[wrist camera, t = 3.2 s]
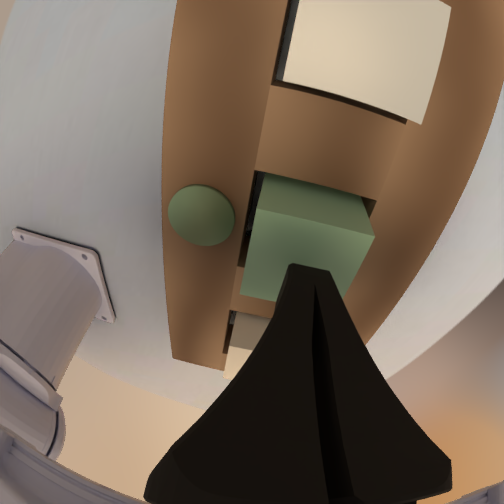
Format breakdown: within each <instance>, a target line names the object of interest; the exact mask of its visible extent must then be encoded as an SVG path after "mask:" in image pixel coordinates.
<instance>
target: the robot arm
mask: <svg viewBox="0 0 504 504" xmlns="http://www.w3.org/2000/svg"><path fill="white" fill-rule="evenodd" d="M12 235H13V238H14V241H13V242H12V243H11V244H10V245H9V246H8V247H7V248H6V249H5V250H4V252H3V253H2V254H1V255H0V504H416V501H417V500H421V499H425V498H429V497H433V496H436V495H439V494H442V493H446V492H449V491H450V490H451V489H452V467H451V460H450V459H449V458H448V457H447V456H446V455H445V453H444V452H443V451H442V450H441V449H439V447H438V446H437V445H436V444H435V443H434V442H433V441H432V440H431V439H430V438H429V437H428V436H427V435H426V434H425V432H424V431H423V430H422V429H421V428H420V426H419V425H418V424H417V423H416V422H415V421H414V419H413V418H412V417H411V415H410V414H409V413H408V412H407V410H406V409H405V407H404V406H403V405H402V403H401V402H400V401H399V399H398V398H397V397H396V395H395V394H394V392H393V391H392V389H391V388H390V387H389V385H388V384H387V382H386V380H385V379H384V377H383V376H382V374H381V372H380V371H379V369H378V368H377V366H376V364H375V363H374V361H373V359H372V357H371V355H370V354H369V352H368V350H367V348H366V346H365V344H364V343H363V341H362V339H361V337H360V335H359V333H358V331H357V329H356V327H355V325H354V323H353V321H352V319H351V316H350V314H349V312H348V310H347V308H346V306H345V304H344V301H343V299H342V297H341V295H340V293H339V290H338V288H337V286H336V284H335V281H334V279H333V277H332V275H331V273H330V271H328V270H324V269H319V268H314V267H310V266H305V265H300V264H296V263H291V264H289V265H288V268H287V271H286V274H285V277H284V280H283V283H282V286H281V289H280V291H279V294H278V297H277V300H276V304H275V309H274V314H273V316H272V318H271V320H270V322H269V324H268V326H267V328H266V330H265V331H264V333H263V335H262V337H261V338H260V340H259V342H258V343H257V345H256V347H255V348H254V350H253V351H252V353H251V354H250V356H249V357H248V359H247V360H246V362H245V363H244V365H243V366H242V367H241V369H240V370H239V371H238V373H237V374H236V376H235V377H234V378H233V380H232V381H231V382H230V383H229V385H228V386H227V387H226V388H225V390H224V391H223V392H222V393H221V394H220V396H219V397H218V398H217V399H216V400H215V401H214V403H213V404H212V405H211V406H210V407H209V408H208V409H207V411H206V412H205V413H204V414H203V415H202V416H201V417H200V418H199V419H198V421H196V423H194V424H193V425H192V426H191V427H190V428H189V429H188V430H187V431H186V432H185V433H184V434H183V435H182V436H181V437H180V438H179V439H178V440H177V441H176V442H175V443H174V444H173V445H172V446H171V447H170V449H169V450H168V452H167V453H166V454H165V455H164V457H163V458H162V459H161V460H160V462H159V463H158V464H157V465H156V467H155V468H154V469H153V471H152V472H151V474H150V475H149V478H148V481H147V484H146V488H145V492H144V496H143V497H144V499H145V500H146V501H147V502H144V501H142V500H138V499H136V498H133V497H130V496H128V495H125V494H122V493H120V492H117V491H115V490H112V489H110V488H108V487H105V486H103V485H101V484H98V483H96V482H94V481H92V480H90V479H88V478H86V477H84V476H82V475H80V474H78V473H76V472H74V471H72V470H70V469H68V468H66V467H64V466H63V465H61V464H59V463H57V462H56V460H57V458H58V457H59V455H60V453H61V451H62V448H63V445H64V441H65V434H66V428H65V418H64V413H63V411H62V409H61V407H60V404H61V402H62V400H63V397H61V396H60V395H59V394H58V393H56V391H57V389H58V386H59V384H60V382H61V380H62V378H63V376H64V374H65V372H66V370H67V368H68V366H69V363H70V361H71V360H72V358H73V356H74V354H75V352H76V350H77V348H78V346H79V344H80V342H81V341H82V339H83V337H84V335H85V333H86V331H87V329H88V328H89V326H90V324H91V322H92V321H93V319H94V318H97V319H100V320H103V321H106V322H108V323H114V322H115V316H114V312H113V309H112V306H111V303H110V299H109V296H108V292H107V289H106V285H105V282H104V278H103V274H102V270H101V266H100V262H99V258H98V255H97V253H96V252H95V251H93V250H90V249H87V248H83V247H79V246H76V245H72V244H69V243H65V242H62V241H58V240H55V239H51V238H48V237H44V236H41V235H37V234H34V233H31V232H27V231H24V230H21V229H18V228H14V229H13V230H12ZM148 502H149V503H148ZM446 504H504V480H503V481H502V482H499V483H497V484H494V485H492V486H488V487H485V488H482V489H479V490H476V491H474V492H471V493H469V494H466V495H464V496H462V497H461V498H460V499H457V500H455V501H452V502H449V503H446Z"/></svg>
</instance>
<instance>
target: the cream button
mask: <svg viewBox="0 0 504 504" xmlns="http://www.w3.org/2000/svg"><path fill="white" fill-rule="evenodd" d="M270 320H271V318H267V317H262V316H257V315H253V314H248V313H243V312H238V311H237V313H236V318H235V322H234V327H233V331H232V336H231V340H230V344H229V349H228V354H227V359H226V365H225V370H224V375H223V378H226V379H230V380H233V378H234V377H235V376H236V374H237V373H238V371H239V370H240V369H241V367H242V366H243V365H244V363H245V362H246V360H247V359H248V357H249V356H250V354H251V353H252V351H253V350H254V348H255V347H256V345H257V343H258V342H259V340H260V338H261V337H262V335H263V333H264V331H265V330H266V328H267V326H268V324H269V322H270Z"/></svg>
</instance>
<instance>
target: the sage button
mask: <svg viewBox="0 0 504 504" xmlns="http://www.w3.org/2000/svg"><path fill="white" fill-rule="evenodd" d="M374 238H375V235H374V232H373V229H372V226H371V223H370V220H369V218H368V215H367V212H366V209H365V207H364V204H363V201H362V199H361V196H360V195H356V194H353V193H349V192H345V191H342V190H338V189H334V188H330V187H327V186H323V185H319V184H315V183H311V182H307V181H303V180H298V179H294V178H290V177H285V176H281V175H276V174H272V173H267V172H266V173H265V177H264V181H263V185H262V189H261V193H260V197H259V201H258V205H257V209H256V214H255V219H254V224H253V229H252V234H251V238H250V243H249V248H248V253H247V258H246V263H245V268H244V273H243V278H242V284H241V289H240V294H241V295H245V296H250V297H255V298H260V299H264V300H269V301H274V302H276V300H277V297H278V294H279V291H280V289H281V286H282V283H283V280H284V277H285V274H286V271H287V268H288V265H289V264H291V263H296V264H300V265H305V266H310V267H314V268H319V269H324V270H328V271H330V273H331V275H332V277H333V279H334V281H335V284H336V286H337V288H338V290H339V293H340V295H341V297H342V299H343V297H344V296H345V294H346V292H347V290H348V288H349V287H350V285H351V283H352V281H353V279H354V277H355V275H356V274H357V272H358V270H359V268H360V266H361V264H362V262H363V260H364V258H365V256H366V254H367V252H368V250H369V248H370V246H371V244H372V242H373V240H374Z"/></svg>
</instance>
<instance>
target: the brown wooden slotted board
mask: <svg viewBox="0 0 504 504" xmlns="http://www.w3.org/2000/svg"><path fill="white" fill-rule="evenodd" d="M291 1H292V0H177V5H176V11H175V17H174V24H173V30H172V37H171V45H170V53H169V61H168V71H167V81H166V92H165V106H164V121H163V143H162V237H163V259H164V275H165V289H166V302H167V312H168V323H169V332H170V341H171V349H172V357H173V358H174V359H178V360H181V361H185V362H189V363H193V364H197V365H201V366H205V367H209V368H213V369H218V370H222V371H224V370H225V365H226V359H227V354H228V349H229V344H230V340H231V336H232V331H233V327H234V325H231V324H229V323H230V317H231V311H232V310H234V311H238V312H243V313H248V314H253V315H257V316H262V317H267V318H272V316H273V314H274V309H275V304H276V302H274V301H269V300H264V299H260V298H255V297H250V296H245V295H241V294H240V289H241V284H242V278H243V273H244V268H245V263H246V258H247V253H248V248H249V243H250V238H251V236H249V235H246V229H247V224H248V219H249V213H250V208H251V203H252V197H253V192H254V187H255V181H256V176H257V171H263V172H267V173H272V174H276V175H281V176H285V177H290V178H294V179H298V180H303V181H307V182H311V183H315V184H319V185H323V186H327V187H330V188H334V189H338V190H342V191H345V192H349V193H353V194H356V195H360V196H361V199H362V201H363V204H364V207H365V209H366V212H367V215H368V218H369V220H370V223H371V226H372V229H373V232H374V235H375V238H374V240H373V242H372V244H371V246H370V248H369V250H368V252H367V254H366V256H365V258H364V260H363V262H362V264H361V266H360V268H359V270H358V272H357V274H356V275H355V277H354V279H353V281H352V283H351V285H350V287H349V288H348V290H347V292H346V294H345V296H344V297H343V301H344V304H345V306H346V308H347V310H348V312H349V314H350V316H351V319H352V321H353V323H354V325H355V327H356V329H357V331H358V333H359V335H360V337H361V339H362V341H363V343H364V344H365V345H366V343H367V342H368V341H369V340H370V338H371V337H372V336H373V335H374V333H375V332H376V331H377V330H378V328H379V327H380V326H381V324H382V323H383V322H384V320H385V319H386V318H387V316H388V315H389V314H390V312H391V311H392V310H393V308H394V307H395V305H396V304H397V303H398V301H399V300H400V298H401V297H402V296H403V294H404V293H405V291H406V290H407V288H408V287H409V285H410V284H411V282H412V281H413V279H414V278H415V276H416V275H417V273H418V272H419V270H420V268H421V267H422V265H423V264H424V262H425V260H426V259H427V257H428V256H429V254H430V252H431V251H432V249H433V247H434V245H435V244H436V242H437V240H438V239H439V237H440V235H441V233H442V231H443V230H444V228H445V226H446V224H447V222H448V220H449V219H450V217H451V215H452V213H453V211H454V209H455V207H456V205H457V203H458V201H459V199H460V197H461V195H462V193H463V191H464V189H465V187H466V184H467V182H468V180H469V178H470V176H471V173H472V171H473V169H474V166H475V164H476V162H477V159H478V157H479V154H480V152H481V149H482V147H483V144H484V141H485V139H486V136H487V133H488V130H489V128H490V125H491V122H492V119H493V116H494V113H495V109H496V106H497V103H498V99H499V96H500V92H501V89H502V85H503V81H504V0H439V1H441V2H443V3H445V4H447V5H448V6H450V7H451V12H450V18H449V23H448V28H447V33H446V38H445V43H444V47H443V51H442V55H441V60H440V64H439V67H438V71H437V75H436V79H435V82H434V86H433V89H432V92H431V96H430V99H429V102H428V106H427V109H426V112H425V115H424V118H423V121H422V124H421V125H420V124H418V123H416V122H414V121H411V120H409V119H406V118H404V117H402V116H399V115H397V114H394V113H391V112H389V111H385V110H382V109H379V108H377V107H374V106H371V105H368V104H365V103H362V102H359V101H356V100H353V99H350V98H346V97H343V96H340V95H336V94H333V93H329V92H326V91H322V90H318V89H314V88H310V87H306V86H302V85H298V84H293V83H289V82H284V81H279V80H275V79H276V74H277V69H278V64H279V59H280V54H281V50H282V45H283V40H284V35H285V30H286V25H287V20H288V16H289V11H290V6H291Z"/></svg>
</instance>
